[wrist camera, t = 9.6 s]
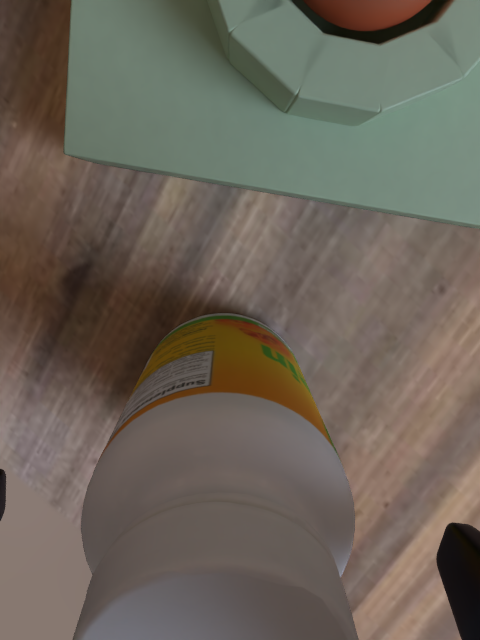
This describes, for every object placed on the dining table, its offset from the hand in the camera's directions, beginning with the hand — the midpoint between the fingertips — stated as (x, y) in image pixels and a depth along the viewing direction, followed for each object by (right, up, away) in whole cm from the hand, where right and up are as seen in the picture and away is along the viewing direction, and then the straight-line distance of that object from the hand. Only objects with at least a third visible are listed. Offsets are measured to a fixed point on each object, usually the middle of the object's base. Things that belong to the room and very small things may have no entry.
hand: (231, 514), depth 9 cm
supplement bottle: (0, +2, +7) cm, 7 cm away
